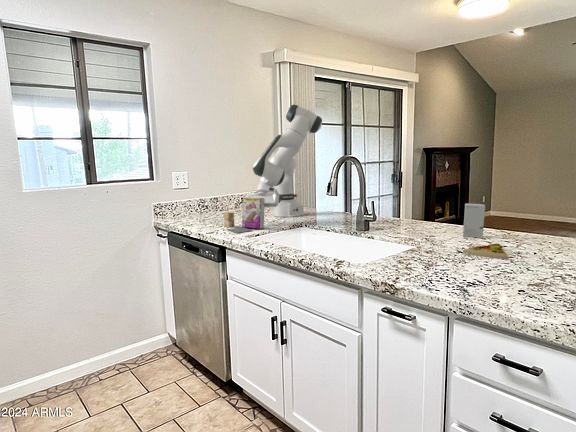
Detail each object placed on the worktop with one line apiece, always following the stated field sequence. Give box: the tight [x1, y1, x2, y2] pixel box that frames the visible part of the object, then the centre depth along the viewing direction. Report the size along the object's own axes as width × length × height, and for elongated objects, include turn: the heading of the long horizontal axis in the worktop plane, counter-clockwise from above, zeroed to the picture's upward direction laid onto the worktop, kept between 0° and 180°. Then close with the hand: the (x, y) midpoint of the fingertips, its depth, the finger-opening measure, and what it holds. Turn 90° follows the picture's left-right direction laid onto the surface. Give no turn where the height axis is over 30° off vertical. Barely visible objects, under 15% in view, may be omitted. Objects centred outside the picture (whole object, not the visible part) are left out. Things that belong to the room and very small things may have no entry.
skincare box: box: [462, 203, 486, 239], centre depth 174 cm, size 8×6×15 cm
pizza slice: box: [462, 242, 509, 260], centre depth 148 cm, size 16×21×3 cm
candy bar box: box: [241, 196, 265, 230], centre depth 208 cm, size 11×5×16 cm, turn 65°
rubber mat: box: [225, 226, 254, 234], centre depth 203 cm, size 10×12×1 cm
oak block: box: [223, 211, 235, 229], centre depth 215 cm, size 4×4×8 cm
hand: (257, 211), depth 212 cm, fingers closed
